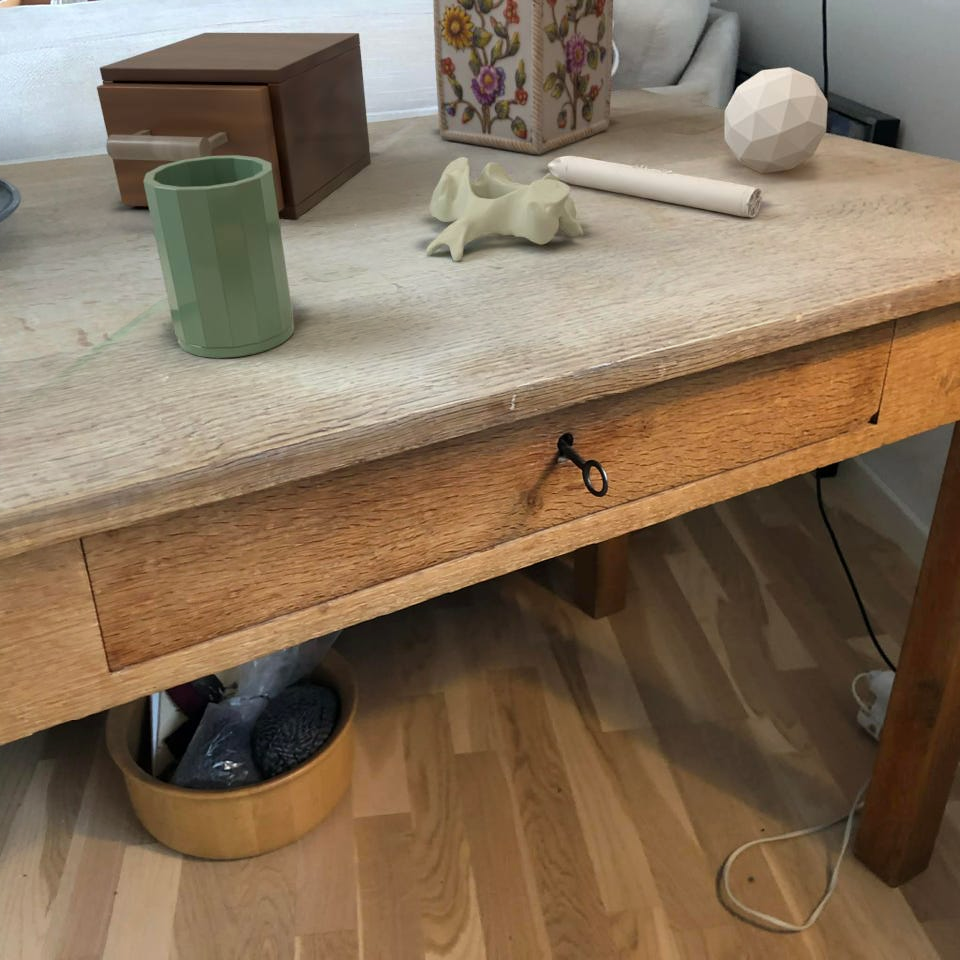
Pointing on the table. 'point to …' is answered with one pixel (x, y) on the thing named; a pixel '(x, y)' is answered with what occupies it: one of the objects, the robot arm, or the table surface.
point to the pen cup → (221, 254)
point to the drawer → (184, 127)
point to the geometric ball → (775, 120)
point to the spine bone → (499, 207)
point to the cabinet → (281, 98)
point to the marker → (658, 185)
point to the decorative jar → (523, 71)
